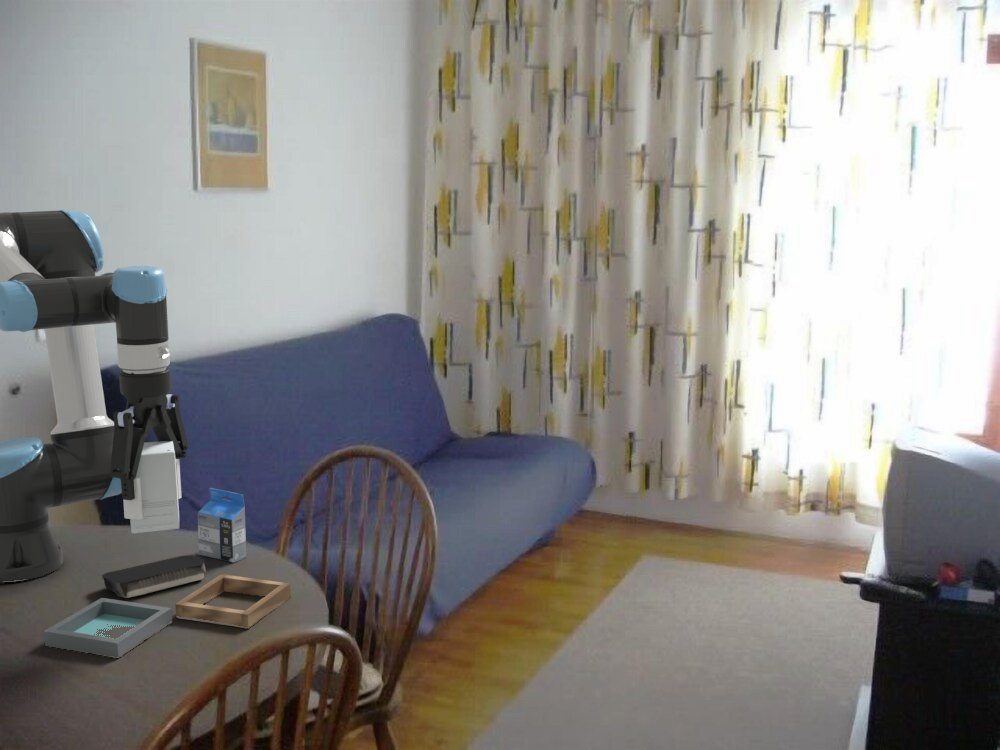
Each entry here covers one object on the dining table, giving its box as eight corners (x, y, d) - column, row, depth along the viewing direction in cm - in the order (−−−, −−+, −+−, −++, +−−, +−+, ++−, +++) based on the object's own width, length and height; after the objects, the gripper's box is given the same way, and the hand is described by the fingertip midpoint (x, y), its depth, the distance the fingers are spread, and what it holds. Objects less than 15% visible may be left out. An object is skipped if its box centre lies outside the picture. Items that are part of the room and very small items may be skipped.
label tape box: (197, 555, 202) (194, 492, 200) (213, 548, 206) (209, 486, 203) (233, 563, 198) (229, 500, 196) (248, 556, 202) (245, 493, 199)
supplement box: (179, 514, 174) (174, 439, 172) (179, 530, 168) (175, 451, 165) (131, 518, 172) (126, 442, 170) (129, 534, 165) (124, 455, 163)
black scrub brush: (118, 605, 180) (116, 585, 180) (101, 590, 187) (100, 570, 186) (210, 582, 190) (209, 563, 190) (191, 568, 197) (190, 549, 196)
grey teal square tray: (45, 646, 165) (43, 631, 164) (102, 612, 177) (101, 597, 177) (118, 658, 161) (117, 643, 160) (172, 622, 173) (171, 608, 173)
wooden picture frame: (176, 618, 175) (175, 603, 174) (222, 587, 187) (221, 574, 187) (248, 629, 171) (247, 614, 170) (290, 597, 183) (290, 583, 182)
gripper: (120, 385, 153) (131, 534, 158) (206, 356, 174) (213, 488, 179) (76, 381, 155) (87, 528, 160) (165, 354, 176) (173, 484, 181)
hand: (153, 507), depth 169 cm, fingers closed on supplement box, 10 cm apart
